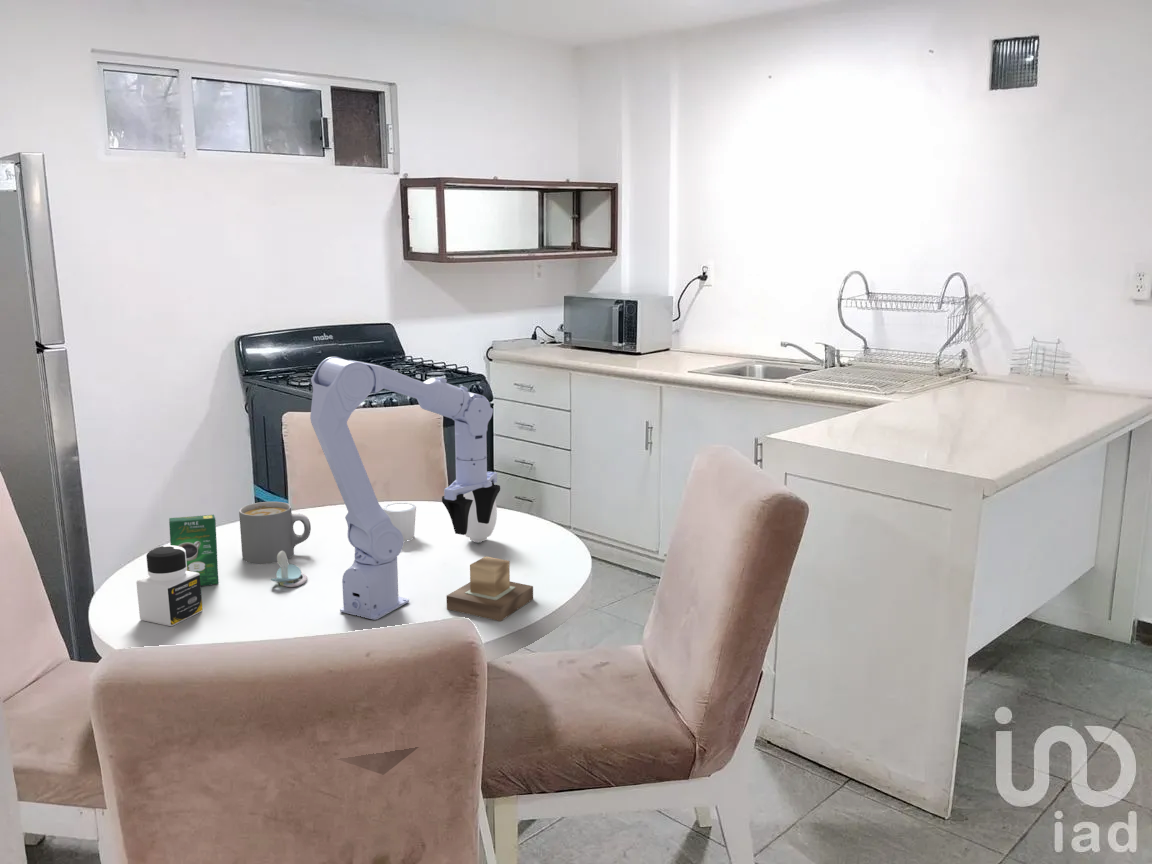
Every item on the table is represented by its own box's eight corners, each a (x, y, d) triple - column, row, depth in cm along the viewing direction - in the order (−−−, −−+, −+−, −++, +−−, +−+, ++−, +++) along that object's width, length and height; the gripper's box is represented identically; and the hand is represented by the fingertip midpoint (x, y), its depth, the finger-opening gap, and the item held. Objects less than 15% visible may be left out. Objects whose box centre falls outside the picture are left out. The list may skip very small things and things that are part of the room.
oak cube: (494, 597, 157) (494, 569, 156) (470, 591, 159) (469, 564, 158) (509, 587, 161) (509, 560, 160) (485, 582, 163) (485, 556, 162)
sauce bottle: (481, 549, 189) (480, 465, 186) (452, 543, 193) (450, 460, 190) (504, 539, 196) (503, 458, 192) (475, 533, 200) (473, 453, 196)
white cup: (409, 544, 192) (408, 512, 191) (379, 541, 194) (378, 510, 192) (421, 534, 199) (420, 503, 198) (392, 531, 200) (391, 501, 199)
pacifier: (311, 576, 174) (279, 575, 174) (310, 545, 173) (278, 544, 173) (301, 590, 167) (268, 590, 167) (301, 558, 166) (267, 557, 166)
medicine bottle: (171, 627, 150) (165, 558, 148) (139, 620, 153) (132, 552, 150) (203, 611, 157) (198, 545, 154) (171, 605, 159) (166, 539, 157)
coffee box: (219, 579, 172) (214, 512, 169) (220, 584, 169) (215, 516, 166) (173, 585, 169) (167, 517, 166) (173, 590, 166) (167, 521, 163)
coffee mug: (236, 564, 180) (232, 516, 178) (250, 548, 189) (246, 501, 187) (305, 563, 181) (302, 514, 179) (315, 546, 190) (313, 500, 188)
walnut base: (500, 621, 153) (500, 606, 153) (446, 609, 158) (446, 594, 158) (533, 599, 163) (533, 585, 162) (481, 588, 168) (481, 574, 167)
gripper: (467, 468, 159) (468, 542, 161) (510, 451, 171) (510, 520, 174) (433, 463, 162) (435, 536, 165) (478, 447, 174) (480, 515, 177)
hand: (472, 528), depth 170 cm, fingers open, 7 cm apart
